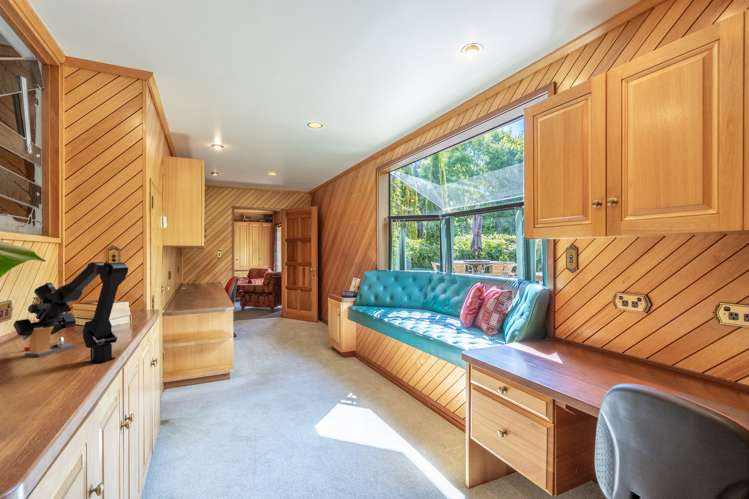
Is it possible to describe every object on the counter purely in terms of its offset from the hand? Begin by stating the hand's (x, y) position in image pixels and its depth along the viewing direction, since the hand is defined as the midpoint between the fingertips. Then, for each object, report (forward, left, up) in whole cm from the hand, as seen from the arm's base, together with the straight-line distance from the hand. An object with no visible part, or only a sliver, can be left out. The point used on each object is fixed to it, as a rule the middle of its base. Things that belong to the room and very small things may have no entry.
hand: (37, 336), depth 146 cm
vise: (-1, -4, -7) cm, 8 cm away
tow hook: (+10, -8, -8) cm, 15 cm away
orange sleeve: (-1, 0, -6) cm, 6 cm away
